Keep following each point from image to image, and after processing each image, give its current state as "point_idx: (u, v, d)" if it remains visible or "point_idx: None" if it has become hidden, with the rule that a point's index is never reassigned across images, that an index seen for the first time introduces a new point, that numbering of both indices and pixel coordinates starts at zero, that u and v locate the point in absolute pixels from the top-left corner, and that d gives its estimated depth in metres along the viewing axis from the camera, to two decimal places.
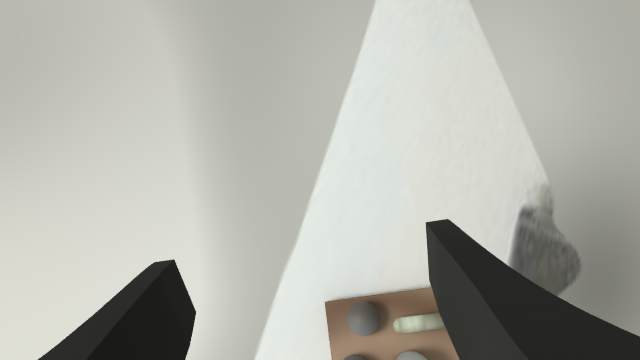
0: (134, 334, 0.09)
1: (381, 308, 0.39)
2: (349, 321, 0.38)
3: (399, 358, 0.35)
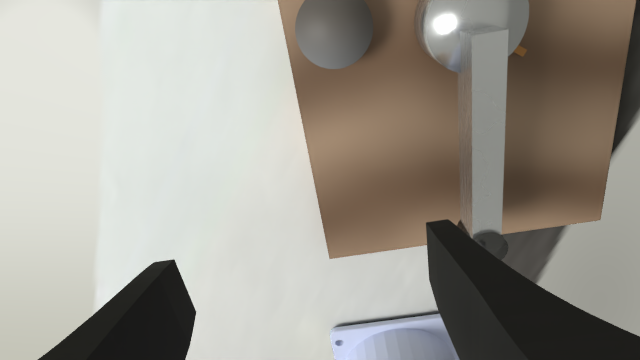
0: (134, 334, 0.09)
1: None
2: None
3: None
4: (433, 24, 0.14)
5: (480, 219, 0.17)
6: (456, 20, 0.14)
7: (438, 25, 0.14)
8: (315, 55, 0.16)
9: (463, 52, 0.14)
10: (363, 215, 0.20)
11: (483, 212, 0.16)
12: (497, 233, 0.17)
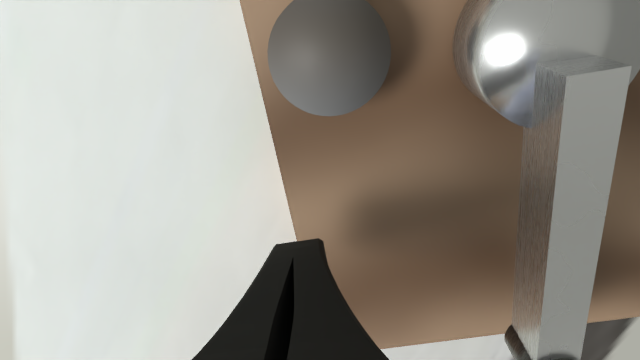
0: (287, 313, 0.09)
1: None
2: None
3: None
4: (493, 52, 0.09)
5: (550, 342, 0.11)
6: (531, 46, 0.09)
7: (501, 54, 0.09)
8: (299, 95, 0.10)
9: (542, 99, 0.09)
10: (370, 303, 0.15)
11: (556, 333, 0.11)
12: None
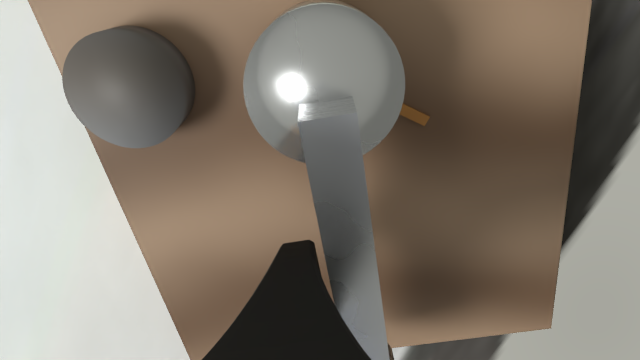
0: None
1: None
2: None
3: (270, 33, 0.08)
4: (255, 93, 0.09)
5: None
6: (290, 88, 0.09)
7: (263, 96, 0.09)
8: (104, 129, 0.11)
9: None
10: (231, 322, 0.15)
11: None
12: None
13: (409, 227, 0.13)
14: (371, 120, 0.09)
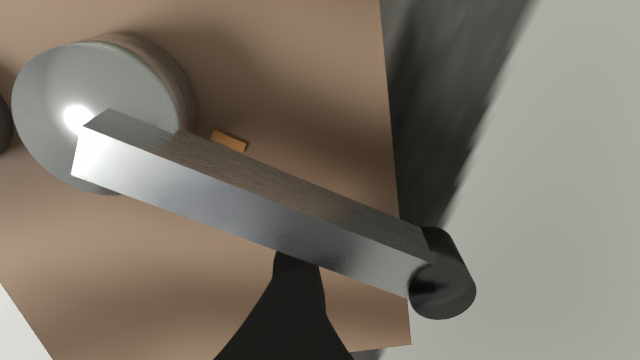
0: None
1: None
2: None
3: (25, 136, 0.09)
4: (73, 177, 0.10)
5: (382, 277, 0.10)
6: None
7: None
8: None
9: None
10: (94, 339, 0.15)
11: (373, 270, 0.10)
12: (425, 270, 0.10)
13: (250, 248, 0.14)
14: (141, 105, 0.09)
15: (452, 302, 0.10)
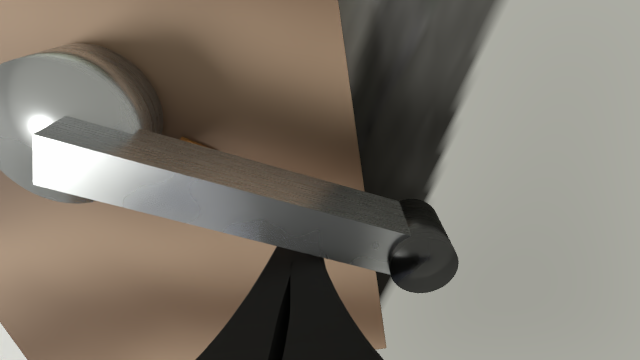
0: (290, 313, 0.09)
1: None
2: None
3: None
4: (45, 189, 0.10)
5: (359, 255, 0.10)
6: None
7: None
8: None
9: None
10: (72, 344, 0.16)
11: (348, 248, 0.09)
12: (401, 242, 0.09)
13: (222, 253, 0.14)
14: (95, 109, 0.09)
15: (435, 273, 0.10)
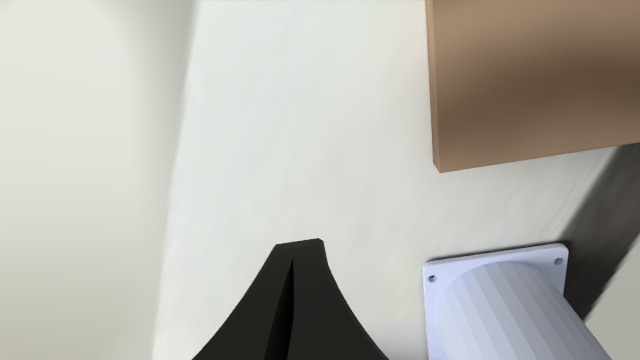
0: (287, 313, 0.09)
1: None
2: None
3: None
4: None
5: None
6: None
7: None
8: None
9: None
10: (485, 118, 0.18)
11: None
12: None
13: None
14: None
15: None
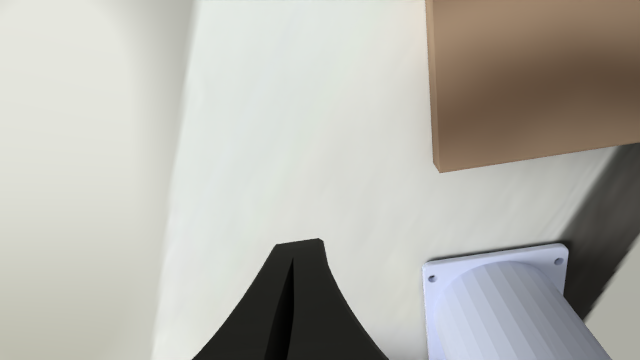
0: (287, 313, 0.09)
1: None
2: None
3: None
4: None
5: None
6: None
7: None
8: None
9: None
10: (485, 118, 0.18)
11: None
12: None
13: None
14: None
15: None
